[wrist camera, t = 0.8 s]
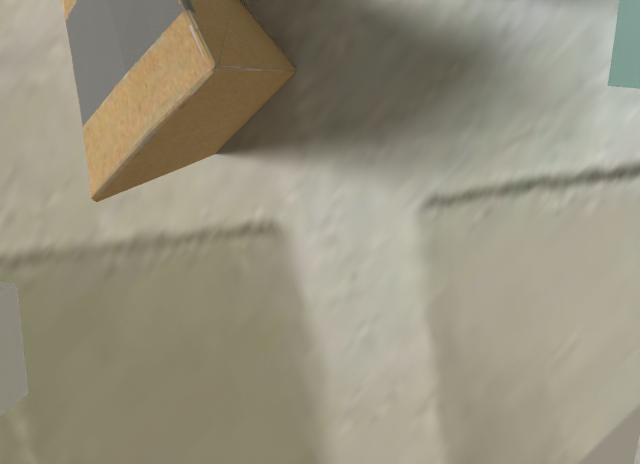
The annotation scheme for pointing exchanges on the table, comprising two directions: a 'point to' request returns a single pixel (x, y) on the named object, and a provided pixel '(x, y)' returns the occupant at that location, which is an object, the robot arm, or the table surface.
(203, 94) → the sandwich container
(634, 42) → the lid
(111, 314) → the table surface
